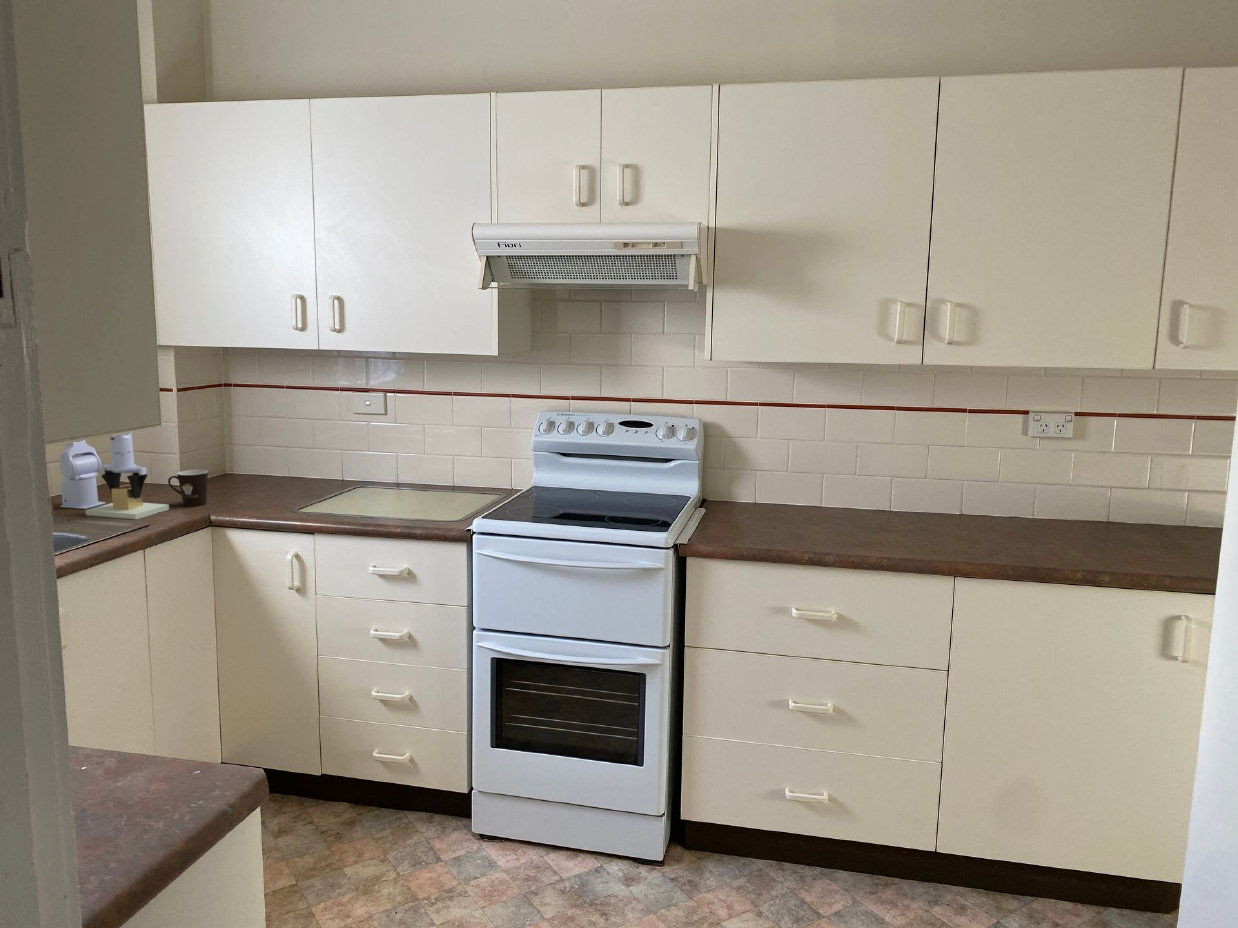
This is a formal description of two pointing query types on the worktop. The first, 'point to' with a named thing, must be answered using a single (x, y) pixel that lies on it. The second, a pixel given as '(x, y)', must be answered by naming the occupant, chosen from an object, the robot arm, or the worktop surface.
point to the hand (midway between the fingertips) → (126, 497)
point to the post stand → (127, 511)
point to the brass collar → (125, 498)
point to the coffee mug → (192, 487)
